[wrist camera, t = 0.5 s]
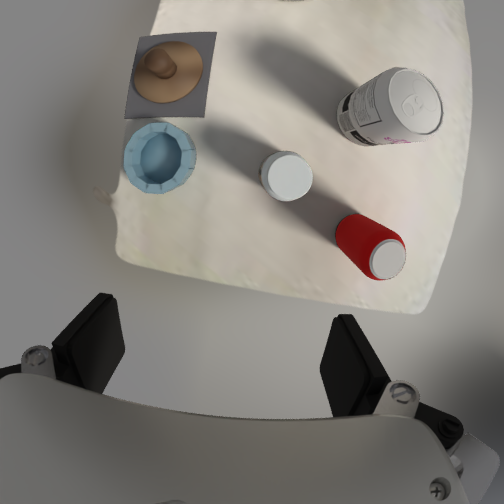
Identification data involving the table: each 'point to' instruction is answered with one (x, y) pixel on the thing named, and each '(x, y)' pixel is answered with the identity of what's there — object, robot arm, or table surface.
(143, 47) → the mat
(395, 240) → the beverage can
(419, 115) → the supplement can
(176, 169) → the bowl
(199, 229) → the table surface
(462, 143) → the table surface
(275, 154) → the pill bottle
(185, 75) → the lid
